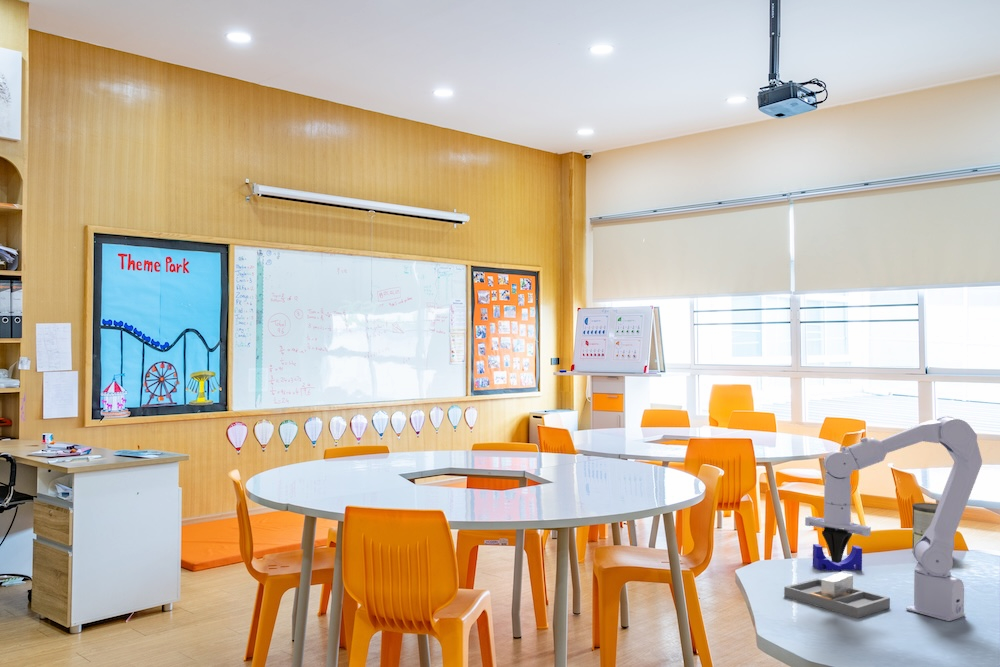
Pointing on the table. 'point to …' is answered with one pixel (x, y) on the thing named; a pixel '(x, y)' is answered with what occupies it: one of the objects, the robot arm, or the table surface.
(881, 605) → the bay rack
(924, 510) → the coffee can
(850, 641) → the table surface
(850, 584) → the light grey rectangular block
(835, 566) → the blue arch block
